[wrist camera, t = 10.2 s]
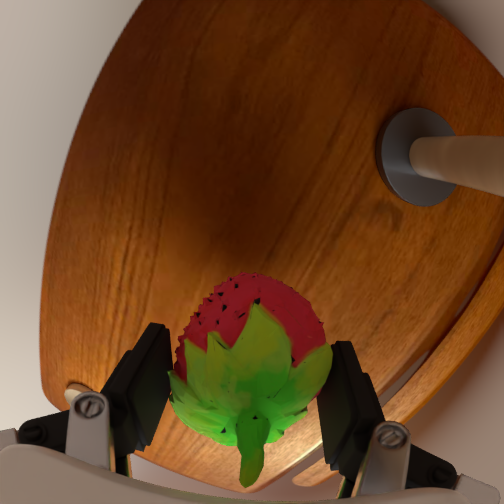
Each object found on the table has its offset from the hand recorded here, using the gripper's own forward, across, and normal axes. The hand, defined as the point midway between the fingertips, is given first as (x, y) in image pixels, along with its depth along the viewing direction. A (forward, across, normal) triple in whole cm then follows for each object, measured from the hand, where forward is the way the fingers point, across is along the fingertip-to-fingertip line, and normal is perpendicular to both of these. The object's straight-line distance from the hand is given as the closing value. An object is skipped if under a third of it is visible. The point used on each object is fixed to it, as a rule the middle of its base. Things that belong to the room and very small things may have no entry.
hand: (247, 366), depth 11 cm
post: (+8, -9, -9) cm, 15 cm away
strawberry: (+5, 0, 0) cm, 5 cm away
